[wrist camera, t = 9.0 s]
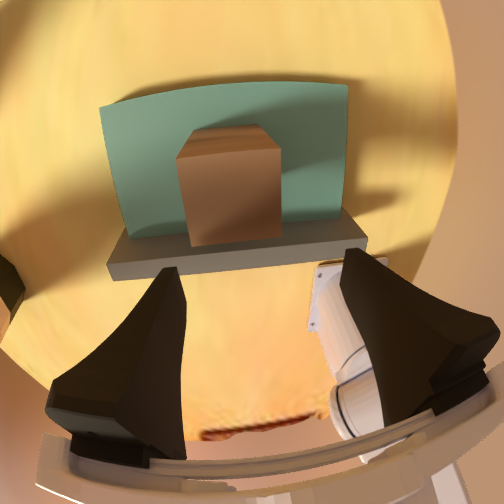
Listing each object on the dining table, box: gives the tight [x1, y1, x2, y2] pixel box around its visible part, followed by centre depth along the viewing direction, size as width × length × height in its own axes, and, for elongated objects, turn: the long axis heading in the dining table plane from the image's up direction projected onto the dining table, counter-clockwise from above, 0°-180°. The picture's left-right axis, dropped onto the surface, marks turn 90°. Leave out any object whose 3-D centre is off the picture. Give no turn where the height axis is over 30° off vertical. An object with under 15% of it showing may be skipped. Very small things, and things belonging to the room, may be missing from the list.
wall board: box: [99, 81, 368, 281], centre depth 17 cm, size 12×18×5 cm, turn 93°
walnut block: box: [176, 124, 282, 247], centre depth 14 cm, size 4×4×7 cm
